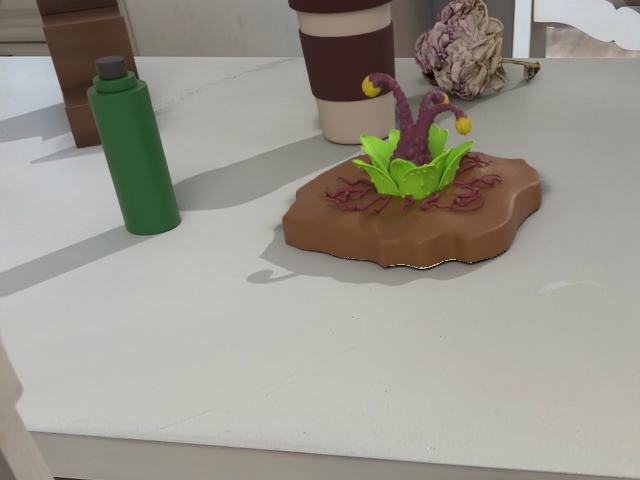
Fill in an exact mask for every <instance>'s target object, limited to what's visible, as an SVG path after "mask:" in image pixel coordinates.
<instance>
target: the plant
mask: <svg viewBox="0 0 640 480" xmlns="http://www.w3.org/2000/svg"><path fill="white" fill-rule="evenodd" d="M383 83H387V84H388V86H389V87H390V89H392V91H393V96H394V99H395V100H396V103H395V105H396V107H397V110H398V113H397V118H398V120H399V125H398V129H399V130H398V129H397V128H395V129H392V130H391V131H390V133H389V136H388V142H386V141H385V140H384V139H379V138H376V137H373V136H366V135H361V136H360V142H361V143H362V144H361V145H360V147H359V148H360V149H361V151H362V152H363V153H364V154H359V155H356V156H353V157H350V158H349V159H346V160H345V161H343V162H341V163H339V164H337V165H335V166H333V167H331V168H329V169H327V170H325V171H324V172H322V173H320V174H318V175H316V177H314V178H313V179H311V180H309V181H308V182H307V183H305V184H304V185H302V186H300V187H299V188H297V189H296V191H295V201H294V202H293V203H292V204H291V205H290V207H289V208H288V210H287V211H286V212H285V213H284V215H283V216H281V222H282V229H283V235H284V242H285V244H286V243H287V244H286V245H290V246H293V247H295V248H297V249H299V248H300V250H303V249H304V250H303V251H308V250H313V251H312V252H317V251H322V252H321V253H324V252H326V253H325V254H327V253H329V254H328V255H330V254H333V255H335V256H339V257H338V258H340V257H347V258H348V257H349V258H354V259H364V260H365V259H366V260H371V261H375V262H377V263H376V264H378V263H379V264H378V265H379V266H381V265H382V266H383V267H382V266H381V267H382V268H385V267H387V266H390V265H397V264H405V265H410V266H413V267H414V266H415V267H418V268H420V267H423V268H424V267H429V266H432V265H434V264H437V263H440V262H442V261H445V260H449V259H456V260H460V261H463V262H462V263H464V262H467V263H466V264H469V263H470V262H476V263H478V262H477V261H480V260H483V261H485V260H484V259H487V260H489V259H488V258H490V259H492V258H495V257H497V256H499V255H501V254H503V253H504V251H505V252H506V251H507V250H509V248H510V247H511V246H512V244H513V242H514V240H515V238H516V234H517V231H518V228H519V227H520V226H521V224H522V223H523V222H524V221H525V220H526V218H527V217H528V216H529V215H530V214H532V213H533V212H534V211H536V210H538V209H539V208H540V207H541V206H542V202H543V193H542V192H543V191H542V190H543V189H542V188H543V187H542V181H541V180H540V179H539V178H540V177H539V173H538V171H537V170H536V168H534V167H532V166H531V165H530V164H528V162H527V161H526V159H524V158H508V157H507V158H506V157H500V156H494V155H490V154H488V153H484V152H481V151H472V150H471V148H472V147H474V145H476V140H468V141H464V142H461V143H460V144H458V145H457V146H455V148H454V147H453V146H450V147H449V148H448V149H446V146H447V143H448V140H449V137H450V131H449V130H448V129H447V128H445V129H442V130H441V129H440V127H439V126H438V125H437V124H436V123H435V119H436V117H437V116H438V115H440V114H442V113H446V112H447V111H450V112H452V113H454V117H455V120H454V128H455V130H456V132H457V133H458V134H460V135H463V136H464V137H466V136H467V135H468V134H469V133H470V132H471V131H472V128H473V123H472V120H471V118H470V117H469V115H468V114H467V113H466V112H465V111H464V110H463V109H461V108H460V107H457V105H456V104H452V103H451V102H450V99H449V96H448V95H447V94H446V93H443V92H442V91H440V89H437V90H436V89H432V90H429V91H428V92H427V93H426V94H425V95H424V96H422V101H420V103H419V106H420V107H419V108H418V114H417V119H416V120H414V117H413V112H412V111H411V106H410V103H409V102H408V97H407V95H406V94H405V92H404V90H402V88H401V85H400V84H398V80H395V79H393V78H392V77H390V76H389V75H387V74H383V73H378V72H377V73H375V74H370V75H369V76H368V77H367V78H365V79H364V81H363V84H362V89H363V92H364V93H365V94H366V96H369V97H374V96H376V95H377V94H378V93H379V92H380V91H381V88H382V84H383ZM431 102H432V106H431V108H430V104H431ZM314 250H315V251H314ZM502 252H503V253H502ZM498 254H499V255H498ZM333 255H332V256H333ZM335 256H334V257H335ZM494 256H495V257H494ZM371 261H370V262H371ZM460 261H459V262H460ZM375 262H374V263H375ZM480 262H481V261H480ZM387 268H388V267H387Z"/></svg>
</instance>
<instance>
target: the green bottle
mask: <svg viewBox="0 0 640 480" xmlns="http://www.w3.org/2000/svg"><path fill="white" fill-rule="evenodd" d="M95 65H96V69H97V72H98V75H97V76H95V77H94V78H93V82H94V86H92V87H90V88H89V89H88V90H87V95H88V99H89V102H90V105H91V109H92V112H93V116H94V119H95V123H96V126H97V130H98V133H99V136H100V140H101V143H102V144H101V146H102V147H101V148H102V150H103V153H104V156H105V161H106V163H107V167H108V170H109V174H110V178H111V181H112V184H113V188H114V191H115V194H116V198H117V201H118V205H119V209H120V212H121V215H122V218H123V222H124V226H125V229H126V230H127V232H129V233H131V234H134V235H139V236H147V235H150V236H151V235H156V234H160V233H165V232H168V231H170V230H172V229H175V228H176V227H178V226H179V225H180V223H181V222H182V217H181V212H180V210H179V209H180V208H179V205H178V201H177V197H176V193H175V189H174V185H173V182H172V177H171V174H170V170H169V165H168V161H167V157H166V154H165V150H164V146H163V143H162V137H161V133H160V130H159V126H158V123H157V119H156V114H155V110H154V106H153V103H152V99H151V95H150V91H149V86H148V82H147V81H145V80H143V79H140V78H139V79H136V76H135V73H134V72H132V71H127V68H126V64H125V60H124V58H123V57H122V56H106V57H102V58H99V59H97V60H95Z"/></svg>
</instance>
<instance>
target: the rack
mask: <svg viewBox="0 0 640 480" xmlns="http://www.w3.org/2000/svg"><path fill="white" fill-rule="evenodd" d="M35 3H36V5H37V9H38V12H39V16H40V22H41V29H42V31H43V36H44V38H45V41H46V42H45V43H46V45H47V48H48V51H49V55H50V58H51V61H52V64H53V68H54V70H55V74H56V78H57V81H58V84H59V87H60V91H61V96H62V101H63V106H64V108H63V109H64V112H65V114H66V118H67V120H68V124H69V127H70V130H71V134H72V137H73V140H74V143H75V146H76V149H83V148H89V147H93V146H94V147H95V146H99V145H101V146H102V143H101V140H100V136H99V133H98V130H97V126H96V123H95V119H94V116H93V112H92V109H91V105H90V102H89V99H88V95H87V90H88V89H89V88H90V87H92V86H94V82H93V78H94V77H95V76H97V75H98V72H97V69H96V65H95V60H97V59H99V58H102V57H106V56H122V57H123V58H124V60H125V64H126V68H127V71H132V72H134V73H135V76H136V79H140V76H139V71H138V68H137V64H136V60H135V57H134V56H135V55H134V52H133V49H132V44H131V41H130V37H129V32H128V29H127V25H126V21H125V17H124V14H123V12H122V9H121V8H120V6H119V2H118V0H35Z"/></svg>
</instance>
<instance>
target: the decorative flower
mask: <svg viewBox="0 0 640 480" xmlns="http://www.w3.org/2000/svg"><path fill="white" fill-rule="evenodd" d="M436 18H437V22H435V24H434V26H433V27H431V28H429V29H428V31H424V32H422V33H421V35H420V36H419V37H418V38H416V41H415V43H414V49H413V53H414V54H413V56H414V62H415V65H417V66H418V67H419V69H420V70H421V72H420V75H421V76H422V77H423V79H424V80H425V81H427V82H428V83H429V84H430V85H431V87H433V88H439V91H442V92H443V93H445V94H446V93H448V92H449V93H450V94H452V95H454V94H455V95H457V96H458V97H460V99H464V100H465V101H470V100H473V99H474V98H478V97H480V96H482V94H483V92H484V91H485V89H489V88H491V89H493V90H494V92H495V93H499V92H500V91H502V89H503V88H505V86H506V85H507V84H508V83H509V80H508V75H507V73H506V71H505V68H504V66H503V64H513V65H519V66H523V67H524V68H523V77H524V78H525V79H526V80H527V82H528V81H531V79H534V78H535V77H536V75H537V74H538V73H539V71H540V70H541V64H540V63H539V61H538V60H537V59H536V61H535V62H531V61H525V60H524V61H522V60H515V59H506V58H503V57H502V55H501V53H502V48H503V41H504V31H505V29H506V28H505V25H504V24H503V23H502V22H501V20H500V19H499V18H496V17H492V16H489V12H488V7H487V4H486V3H485V2H484V1H483V0H452V1H451V2H449V4H448V5H446V6H443V8H442V9H441V11H440V12H439V13H438V14H436Z"/></svg>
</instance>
